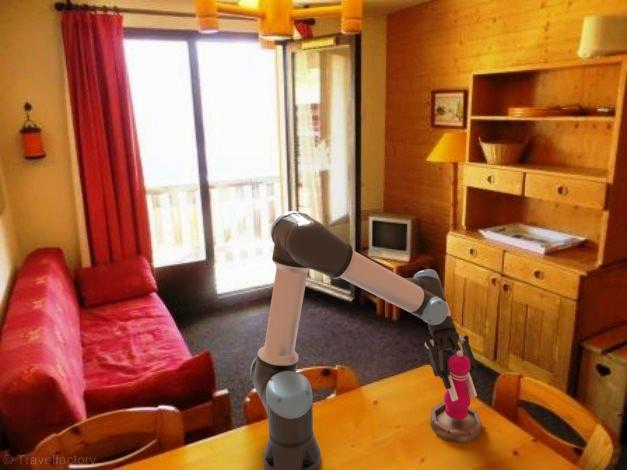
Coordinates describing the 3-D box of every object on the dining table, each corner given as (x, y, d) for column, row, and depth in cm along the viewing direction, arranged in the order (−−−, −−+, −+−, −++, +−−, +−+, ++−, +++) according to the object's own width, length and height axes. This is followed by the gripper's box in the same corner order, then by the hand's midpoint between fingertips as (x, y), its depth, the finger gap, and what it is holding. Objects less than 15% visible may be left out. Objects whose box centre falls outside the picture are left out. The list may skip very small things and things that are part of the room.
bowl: (433, 440, 130) (433, 431, 129) (428, 409, 143) (428, 400, 143) (485, 444, 128) (486, 434, 127) (475, 412, 142) (475, 403, 141)
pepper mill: (470, 422, 131) (475, 358, 125) (444, 419, 132) (447, 356, 127) (468, 406, 138) (472, 345, 132) (442, 403, 139) (445, 343, 134)
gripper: (461, 319, 145) (487, 396, 134) (407, 327, 142) (429, 406, 131) (471, 311, 139) (500, 390, 128) (415, 318, 135) (439, 401, 124)
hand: (464, 398), depth 129 cm, fingers closed on pepper mill, 5 cm apart
